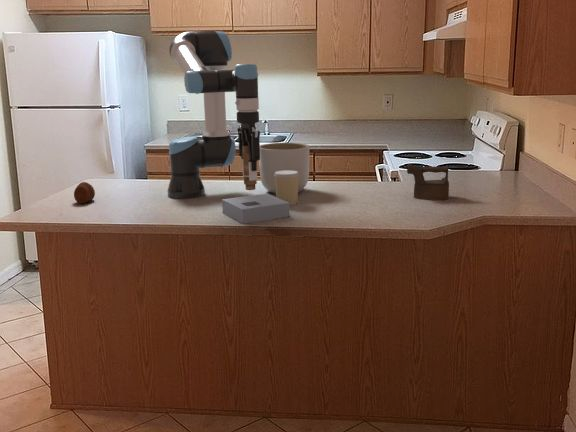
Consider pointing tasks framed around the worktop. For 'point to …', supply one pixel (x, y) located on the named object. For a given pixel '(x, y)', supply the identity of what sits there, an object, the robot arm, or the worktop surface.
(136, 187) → the worktop surface
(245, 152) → the peg
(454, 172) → the worktop surface
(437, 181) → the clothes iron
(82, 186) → the potato
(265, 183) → the planter
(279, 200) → the board
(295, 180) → the coffee cup
